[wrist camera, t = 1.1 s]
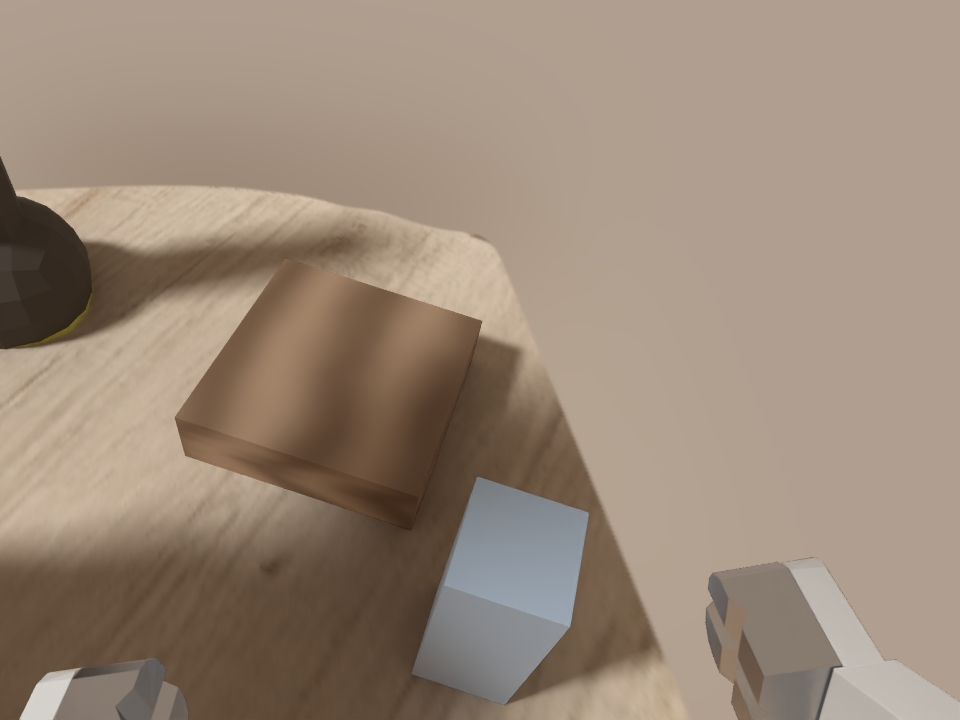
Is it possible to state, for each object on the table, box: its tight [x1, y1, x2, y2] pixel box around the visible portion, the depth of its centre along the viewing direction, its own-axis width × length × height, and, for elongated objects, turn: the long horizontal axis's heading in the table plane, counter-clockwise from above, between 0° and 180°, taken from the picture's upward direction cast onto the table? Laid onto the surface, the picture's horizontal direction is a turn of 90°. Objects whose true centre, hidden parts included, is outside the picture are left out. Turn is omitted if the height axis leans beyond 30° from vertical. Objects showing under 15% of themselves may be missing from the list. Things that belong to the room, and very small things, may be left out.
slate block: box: [411, 476, 589, 705], centre depth 32 cm, size 5×5×12 cm
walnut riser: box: [175, 258, 482, 530], centre depth 43 cm, size 14×14×4 cm
